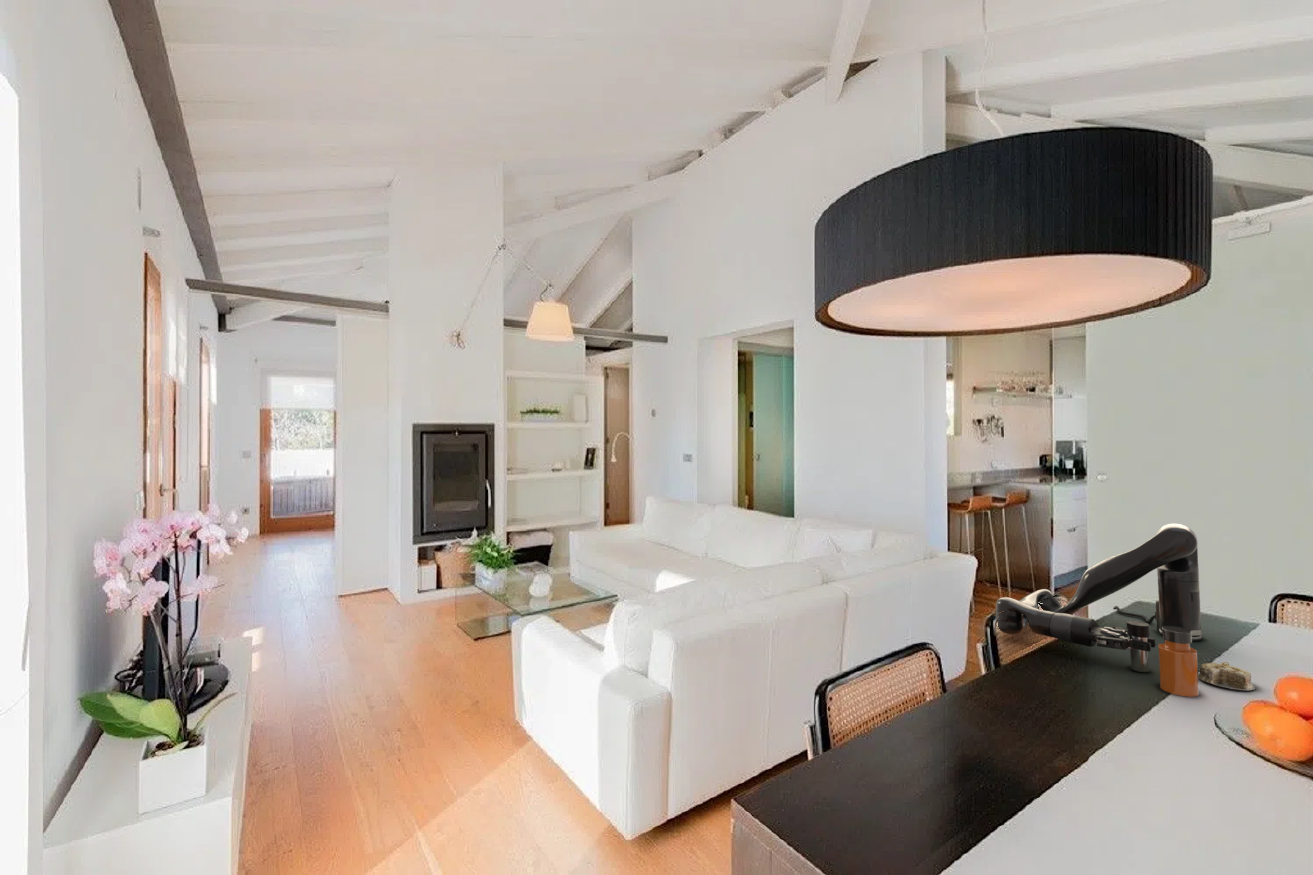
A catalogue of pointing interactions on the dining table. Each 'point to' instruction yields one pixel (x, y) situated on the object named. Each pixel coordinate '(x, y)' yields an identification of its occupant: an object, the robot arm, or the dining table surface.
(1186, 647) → the bottle
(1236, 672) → the cake
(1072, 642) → the robot arm
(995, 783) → the dining table surface
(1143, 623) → the silver shaker
